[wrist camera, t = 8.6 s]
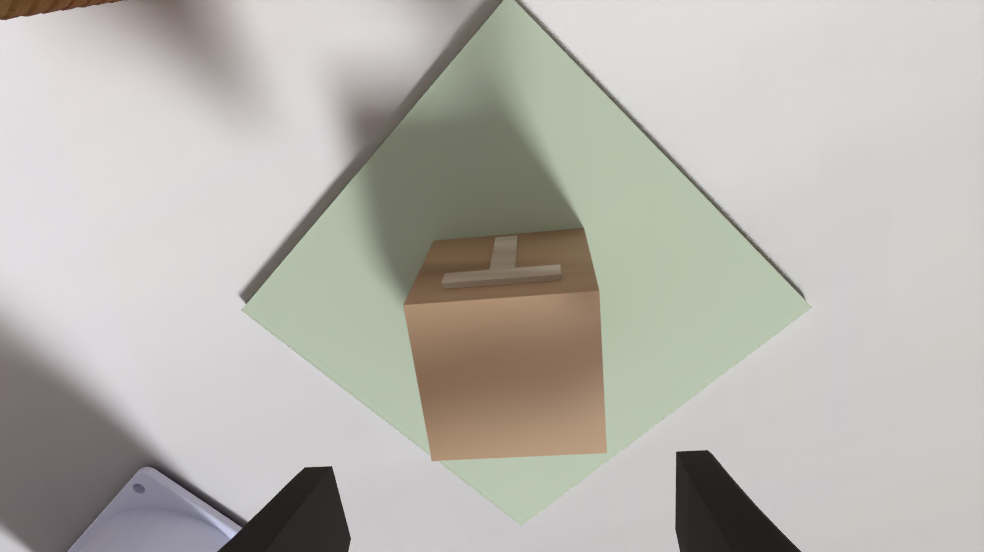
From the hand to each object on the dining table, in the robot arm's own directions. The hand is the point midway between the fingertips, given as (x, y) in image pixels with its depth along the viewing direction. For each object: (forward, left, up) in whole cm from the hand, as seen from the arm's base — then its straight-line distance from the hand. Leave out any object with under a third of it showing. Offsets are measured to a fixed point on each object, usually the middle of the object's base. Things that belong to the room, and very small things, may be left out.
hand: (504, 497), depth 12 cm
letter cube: (0, 0, -9) cm, 9 cm away
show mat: (0, 0, -9) cm, 9 cm away
